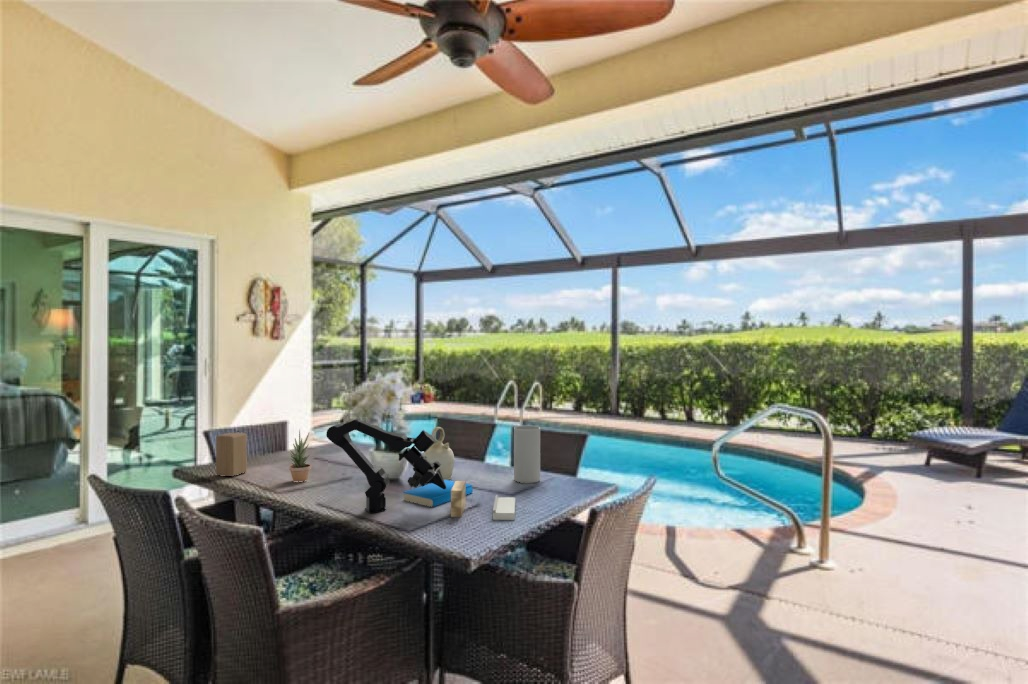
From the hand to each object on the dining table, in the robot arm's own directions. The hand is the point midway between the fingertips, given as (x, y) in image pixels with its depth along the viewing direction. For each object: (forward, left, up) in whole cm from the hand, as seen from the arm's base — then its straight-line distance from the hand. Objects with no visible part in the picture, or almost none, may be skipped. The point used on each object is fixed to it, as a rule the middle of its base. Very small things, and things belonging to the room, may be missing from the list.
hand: (445, 488), depth 214 cm
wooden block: (-58, +111, -9) cm, 126 cm away
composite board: (+18, -14, -9) cm, 25 cm away
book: (+7, +19, -9) cm, 22 cm away
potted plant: (-34, +79, -9) cm, 87 cm away
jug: (+21, +45, -9) cm, 51 cm away
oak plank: (+4, -3, -9) cm, 10 cm away
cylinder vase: (+54, +18, -9) cm, 58 cm away
